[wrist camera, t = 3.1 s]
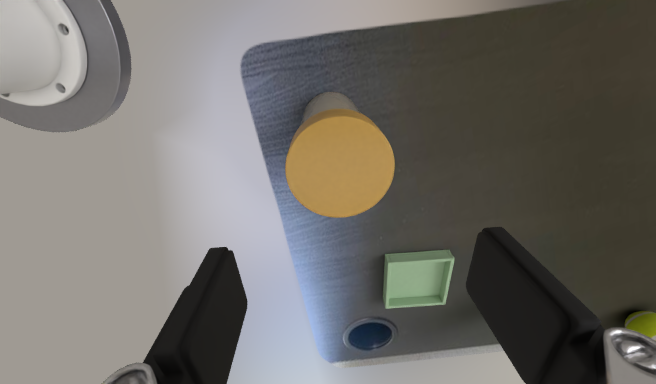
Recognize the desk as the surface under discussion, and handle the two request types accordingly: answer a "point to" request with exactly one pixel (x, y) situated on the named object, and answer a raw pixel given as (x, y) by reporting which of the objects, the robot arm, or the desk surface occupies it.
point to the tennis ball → (642, 323)
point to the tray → (417, 278)
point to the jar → (328, 104)
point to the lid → (339, 163)
